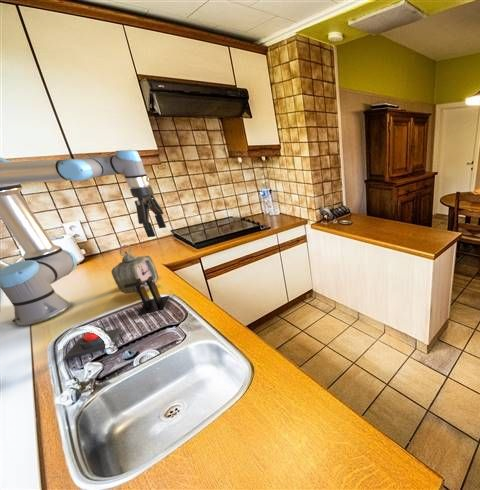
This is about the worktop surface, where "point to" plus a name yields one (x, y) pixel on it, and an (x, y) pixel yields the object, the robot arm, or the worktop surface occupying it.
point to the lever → (137, 284)
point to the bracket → (149, 305)
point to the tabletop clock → (133, 271)
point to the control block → (90, 345)
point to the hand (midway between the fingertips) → (157, 232)
